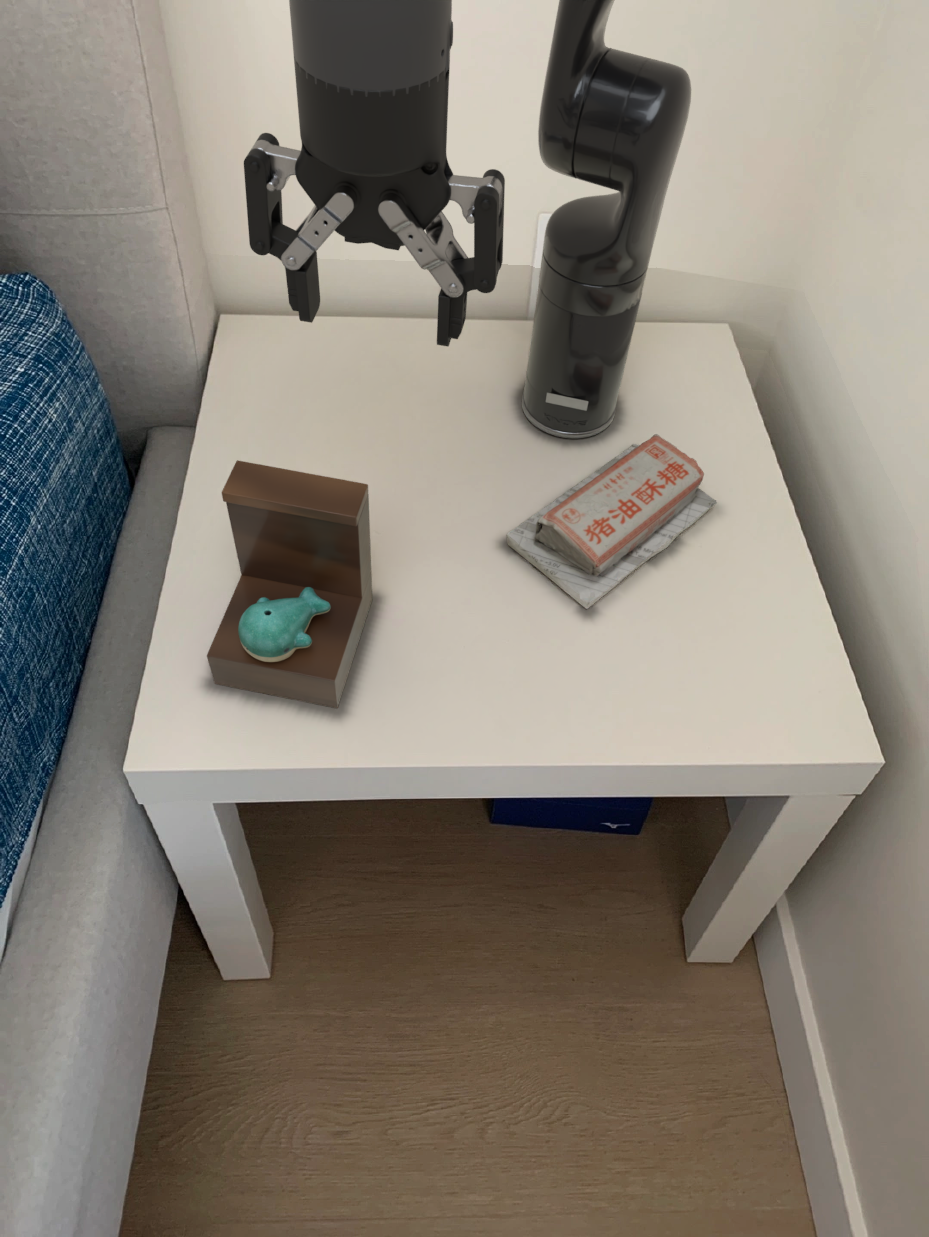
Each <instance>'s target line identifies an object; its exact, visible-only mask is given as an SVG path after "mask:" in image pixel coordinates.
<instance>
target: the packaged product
mask: <svg viewBox="0 0 929 1237" xmlns="http://www.w3.org/2000/svg"><path fill="white" fill-rule="evenodd" d="M704 476H705V473H704V471H703V469H702V468H701V467H700V466H699V464H698V462H697V460H696V459H695V458H694V457H690V456H689V455H687V453H685V452H683V451H681V450H680V449H679V448H678V447H677V446H675V445H674V444H673V443H671V442H669V440H666V439H665V438H663V437H662V436H660V435H659V434H657V433H655V434H653V435H652V436H651V437H650V438H649V439H647V440H646V441H644V442H641V443H640V444H638V443H637V444H636V443H632V444H631V445H629V447H628V448H627V449H624V451H622V452H621V453H620V454H618V455H616V456H615V457H614V458H612V459H611V460H609V461H608V462H606V463H605V464H604V465H602V466H601V467H600V468H598V469H597V470H595V471H594V472H592V473H591V474H589V475H588V476H587V477H586V478H584V479H582V480H581V481H580V482H578V483H577V484H576V485H575V486H573V487H571V488H570V489H568V490H567V491H566V492H564V493H563V494H561V495H560V496H558V497H557V498H556V499H554V500H553V501H552V502H551V503H549V504H548V505H546V506H544V507H543V508H541V509H540V510H539V511H537V512H536V513H534V514H533V515H531V516H530V517H528V518H527V519H526V520H525V521H523V522H521V523H520V524H519V525H518V526H517V527H515V528H513V529H512V530H510V531H508V532H507V534H506V541H507V545H508V546H509V547H510V548H511V549H512V550H514V551H515V552H516V553H518V554H519V555H520V556H521V557H523V558H524V559H525V560H526V561H527V562H529V563H530V564H531V565H533V567H535V568H536V569H537V570H539V571H540V572H541V573H542V574H544V576H546V577H547V578H548V579H549V580H551V581H552V582H553V583H554V584H555V585H557V586H558V587H559V588H560V589H562V590H563V591H564V592H566V594H568V595H569V596H570V597H571V598H572V599H574V601H576V602H577V603H579V605H581V606H582V607H583V608H585V609H586V610H588V609H589V608H591V607H592V606H593V605H594V604H595V603H596V602H599V600H600V599H601V598H603V597H604V596H605V595H606V594H607V593H609V592H610V591H611V590H612V589H613V588H615V587H616V586H618V585H619V584H620V583H621V582H622V581H623V580H624V579H625V578H626V577H627V576H629V575H630V574H631V573H633V572H634V571H635V570H636V569H638V568H639V567H641V566H642V565H643V564H645V563H646V562H648V560H650V559H652V558H653V557H655V556H656V555H658V554H659V553H661V552H662V551H664V550H665V549H667V548H668V547H669V546H670V545H671V544H672V542H673V541H674V540H675V539H676V538H677V537H678V536H679V535H681V533H682V532H684V531H686V529H688V528H690V526H692V525H693V524H695V523H696V522H697V521H698V520H699V519H700V518H702V516H704V515H705V514H706V513H707V512H708V511H709V510H711V509H712V508H713V507H715V505H716V504H717V503H718V502H717V501H718V500H716V499H714V498H713V497H711V496H710V495H709V494H707V493H706V492H705V491H703V490H702V489H701V488H699V487H700V485H701V483H702V482H703V479H704V478H705V477H704Z"/></svg>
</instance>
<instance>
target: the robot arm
mask: <svg viewBox="0 0 929 1237" xmlns="http://www.w3.org/2000/svg"><path fill="white" fill-rule="evenodd" d="M452 2H453V0H288V3H289V15H290V28H291V39H292V52H293V63H294V64H293V65H294V78H295V87H296V89H295V90H296V99H297V100H296V101H297V112H298V113H297V114H298V123H299V135H300V141H301V148H300V149H296V148H290V147H287V146H281V145H280V142H279V140H278V138H277V137H276V136H275V135H274V134H272V133H269V132H262V133H261V134H260V135H259V136H258V138H257V139H256V141H255V142H254V143H253V145H252V147H251V149H250V150H249V151H248V153H247V155H246V157H245V158H244V160H243V174H244V186H245V187H244V189H245V201H246V213H247V215H246V216H247V226H248V240H249V242H248V243H249V248H250V249H251V251H253V253H255V254H257V255H258V256H267V255H268V254H270V255H271V256H273V257H275V258H277V259H278V260H279V261H281V263H282V265H283V266H284V270H285V276H286V277H285V278H286V287H287V288H286V289H287V295H288V296H287V297H288V298H287V299H288V304H289V306H290V308H291V310H292V311H293V312H298V318H299V321H300V322H304V323H305V322H306V323H311V324H312V323H313V322H314V320H315V318H316V316H317V313H318V311H319V309H320V305H321V292H320V291H321V290H320V289H321V288H320V276H319V275H320V274H319V264H318V252H317V251H318V250H319V249H320V247H322V245H324V243H325V242H326V241H327V240H328V238H330V236H331V235H332V234H333V233H334V232H335V233H336V234H338V235H339V236H341V237H344V242H345V243H351V244H357V245H359V244H361V245H362V244H374V245H377V246H379V247H381V248H384V249H388V250H394V251H400V249H401V247H404V246H405V248H406V249H407V251H408V252H409V254H410V255H411V256H412V257H413V259H414V261H415V262H416V263H417V264H418V266H419V267H420V269H422V270H427V271H429V273H430V275H431V276H432V278H433V279H434V280H435V282H436V283H437V284H438V286H439V287H440V290H439V293H438V297H437V298H438V299H437V300H438V301H437V323H436V324H437V328H436V346H442V347H447V348H448V347H449V346H450V344H451V341H452V339H454V340H458V339H459V337H460V336H461V334H462V331H463V328H464V325H465V322H466V318H467V304H468V293H469V292H472V291H478V292H480V293H481V294H489V293H492V292H493V291H494V290H495V288H496V285H497V281H498V280H497V279H498V275H499V272H500V270H501V268H502V265H503V259H504V257H503V256H504V229H505V228H504V225H505V224H504V222H505V217H504V216H505V186H506V179H505V176H504V174H503V172H501V171H500V170H499V169H496V168H490V169H487V170H486V171H485V172H484V173H483V175H482V177H478V176H467V175H457V174H454V172H453V170H452V168H451V166H450V164H449V161H448V157H447V156H448V155H447V143H448V141H447V140H448V118H449V117H448V116H449V113H448V112H449V91H450V90H449V88H450V66H451V64H450V63H451V49H452V46H453V44H454V22H453V21H452V15H453V12H452V11H453V7H452V6H453V3H452ZM614 3H615V0H558V5H557V11H556V16H555V22H554V27H553V33H552V39H551V44H550V49H549V55H548V61H547V66H546V70H545V76H544V83H543V89H542V94H541V95H542V96H541V102H540V108H539V116H538V128H537V141H538V142H537V144H538V152H539V156H540V159H541V161H542V163H543V165H544V166H545V167H546V168H548V169H550V171H551V170H552V171H553V172H555V173H557V174H561V175H562V176H565V177H569V178H573V179H577V180H579V181H582V182H585V183H589V184H592V185H593V184H594V185H596V186H600V187H603V188H607V189H610V190H614V191H616V192H614V193H608V194H599V195H589V196H584V197H580V198H575V199H572V200H570V201H567V202H566V203H564V204H562V205H560V206H559V207H557V208H556V209H555V210H554V211H553V213H552V214H550V217H549V219H548V221H547V223H546V226H545V229H544V237H543V244H542V252H541V260H540V269H539V276H538V284H537V292H536V299H535V300H536V301H535V306H534V307H535V308H534V314H533V321H532V329H531V337H530V344H529V353H528V358H527V366H526V367H527V368H526V374H525V381H524V388H523V391H522V396H521V408H522V411H523V413H524V415H525V417H526V419H527V420H528V421H529V422H530V423H531V424H532V425H533V426H534V427H536V428H537V429H539V430H540V431H542V432H544V433H547V434H548V435H552V436H555V437H558V438H564V439H585V438H589V437H592V436H593V437H594V436H595V435H597V434H600V433H602V432H603V431H604V430H606V429H607V428H608V427H609V426H610V425H611V424H612V423H613V420H614V418H615V414H616V410H617V402H618V397H619V393H620V389H621V385H622V380H623V378H624V372H625V369H626V365H627V360H628V356H629V351H630V348H631V342H632V340H633V339H632V338H633V334H634V330H635V325H636V321H637V318H638V312H639V308H640V304H641V300H642V296H643V290H644V286H645V282H646V277H647V274H648V268H649V265H650V261H651V258H652V257H651V256H652V251H653V247H654V244H655V240H656V235H657V233H658V228H659V224H660V221H661V220H660V219H661V216H662V212H663V208H664V203H665V200H666V199H665V198H666V196H667V192H668V188H669V184H670V182H671V178H672V174H673V171H674V168H675V165H676V161H677V158H678V155H679V151H680V148H681V145H682V142H683V138H684V134H685V130H686V127H687V123H688V119H689V114H690V108H691V104H692V103H691V102H692V81H691V79H690V76H689V74H688V72H687V70H685V69H684V68H683V67H681V66H679V65H676V64H673V63H670V62H666V61H663V60H659V59H654V58H651V57H646V56H642V55H638V54H634V53H631V52H627V51H624V50H619V49H616V48H612V47H608V46H607V45H606V43H605V32H606V28H607V24H608V20H609V17H610V14H611V11H612V8H613V5H614ZM291 176H295V178H296V180H297V182H298V184H299V186H300V187H301V188H302V189H303V191H304V193H306V195H307V196H308V198H309V199H310V201H312V203H313V204H314V206H312V209H311V210H310V212H309V213H308V215H306V217H305V218H304V219H303V221H302V222H301V223H299V225H298V227H297V228H296V229H293V228H291V227H289V226H288V225H285V224H284V222H283V221H284V220H283V219H284V218H283V197H282V196H283V195H282V194H283V193H282V190H283V189H285V186H286V185H287V183H288V181H289V179H290V178H291ZM450 201H452V202H455V203H457V205H458V206H459V207H460V209H461V213H462V216H463V219H465V220H466V222H467V223H468V224H473V226H474V227H473V235H474V236H473V243H474V244H473V256H472V257H468V255H467V254H466V252H465V251H464V249H463V248H462V246H461V245H460V243H459V242H458V240H457V239H456V236H455V235H454V229H453V227H452V225H451V223H450V222H449V221H450V220H448V218H447V217H446V215H445V214H444V212H443V210H444V209H446V207H447V206H448V205H449V203H450Z"/></svg>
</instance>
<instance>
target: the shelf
mask: <svg viewBox="0 0 929 1237" xmlns="http://www.w3.org/2000/svg"><path fill="white" fill-rule="evenodd" d="M369 494H370V493H369V484H368V483H363V482H358V481H353V480H352V481H351V480H347V479H341V478H336V477H331V476H325V475H320V474H313V473H309V472H304V471H299V470H294V469H293V470H291V469H288V468H282V467H275V466H270V465H266V464H259V463H254V462H248V461H242V460H235V463H234V466H233V468H232V469H231V471H230V473H229V476H228V478H227V480H226V482H225V484H224V486H223V488H222V490H221V497H222V501H223V502H224V503H225V504H226V508H227V514H228V518H229V523H230V529H231V532H232V533H231V534H232V537H233V541H234V542H233V543H234V547H235V550H236V557H237V561H238V566H239V570H240V577H239V579H238V582H237V584H236V587H235V588H234V591H233V594H232V596H231V598H230V600H229V603H228V605H227V608H226V610H225V612H224V614H223V617H222V618H221V622H220V624H219V626H218V628H217V630H216V633H215V634H214V635H215V636H214V637H213V640H212V642H211V645H210V646H209V649H208V651H207V654H206V658H207V662H208V665H209V669H210V673H211V676H212V680H213V683H214V684H215V685H219V686H224V687H229V688H234V689H239V690H245V691H249V692H254V693H258V694H264V695H269V696H273V697H279V698H284V699H288V700H289V699H290V700H293V701H298V702H304V703H309V704H314V705H318V706H324V707H329V708H334V709H338V708H339V705H340V702H341V698H342V695H343V693H344V690H345V686H346V683H347V680H348V677H349V674H350V671H351V667H352V665H353V661H354V658H355V655H356V652H357V649H358V646H359V643H360V640H361V635H362V633H363V630H364V627H365V624H366V621H367V618H368V615H369V612H370V608H371V606H372V602H373V580H372V579H373V578H372V577H373V576H372V575H373V574H372V549H371V547H372V546H371V520H370V500H369V499H370V497H369ZM306 587H311V588H313V589H314V591H315V593H316V594H317V596H318V597H320V598H321V599H323V600H325V601H327V602H329V604H330V606H331V608H330V610H329V611H328V612H327V613H324V614H320V615H315V616H314V617H313V618H312V619H311V621H310V624H309V626H308V628H307V630H306V632H305V634H307V635H309V636H310V637H311V639H312V644H311V645H310V646H309V647H308V648H300V649H296V650H295V651H294V653H293V654H292V655H291V656H290V657H288V658H287V659H284V660H282V661H278V662H264V661H261V660H258V659H256V658H254V657H253V656H251V655H250V654H249V653H248V652H247V651H246V650H245V649H244V648H243V646H242V644H241V641H240V638H239V633H238V627H239V622H240V619H241V616H242V615H243V613H244V612H245V611H246V609H248V608H249V607H250V606H251V605H253V604H256V603H257V601H258V600H259V599H260V598H263V597H265V598H268V599H269V600H270V601H271V600H277V599H284V598H298V597H299V596H300V594H301V592H302V591H303V589H304V588H306Z"/></svg>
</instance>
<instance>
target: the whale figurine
mask: <svg viewBox="0 0 929 1237" xmlns="http://www.w3.org/2000/svg"><path fill="white" fill-rule="evenodd" d="M330 608H331V606H330V604H329V602H327V601H325V600H323V599H321V598H320V597H318V596H317V594H316V593H315V591H314V589H313V588H311V587H306V588H304V589H303V591H302V592H301V594H300V596H299V597H298V598H284V599H277V600H271V601H270V600H269V599H268V598H265V597H263V598H260V599H259V600H258V601H257V603H256V604H253V605H251V606H250V607H249V608H248V609H246V611H245V612H244V613H243V615H242V616H241V619H240V622H239V627H238V633H239V638H240V641H241V644H242V646H243V648H244V649H245V650H246V651H247V652H248V653H249V654H250V655H251V656H253V657H254V658H256V659H258V660H261V661H264V662H278V661H282V660H284V659H287V658H288V657H290V656H291V655H292V654H293V653H294V651H295V650H296V649H300V648H308V647H309V646H310V645H311V644H312V639H311V637H310V636H309V635H307V634H305V632H306V630H307V628H308V626H309V624H310V621H311V619H312V618H313V617H314V616H315V615H320V614H324V613H327V612H328V611H329V610H330Z"/></svg>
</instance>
